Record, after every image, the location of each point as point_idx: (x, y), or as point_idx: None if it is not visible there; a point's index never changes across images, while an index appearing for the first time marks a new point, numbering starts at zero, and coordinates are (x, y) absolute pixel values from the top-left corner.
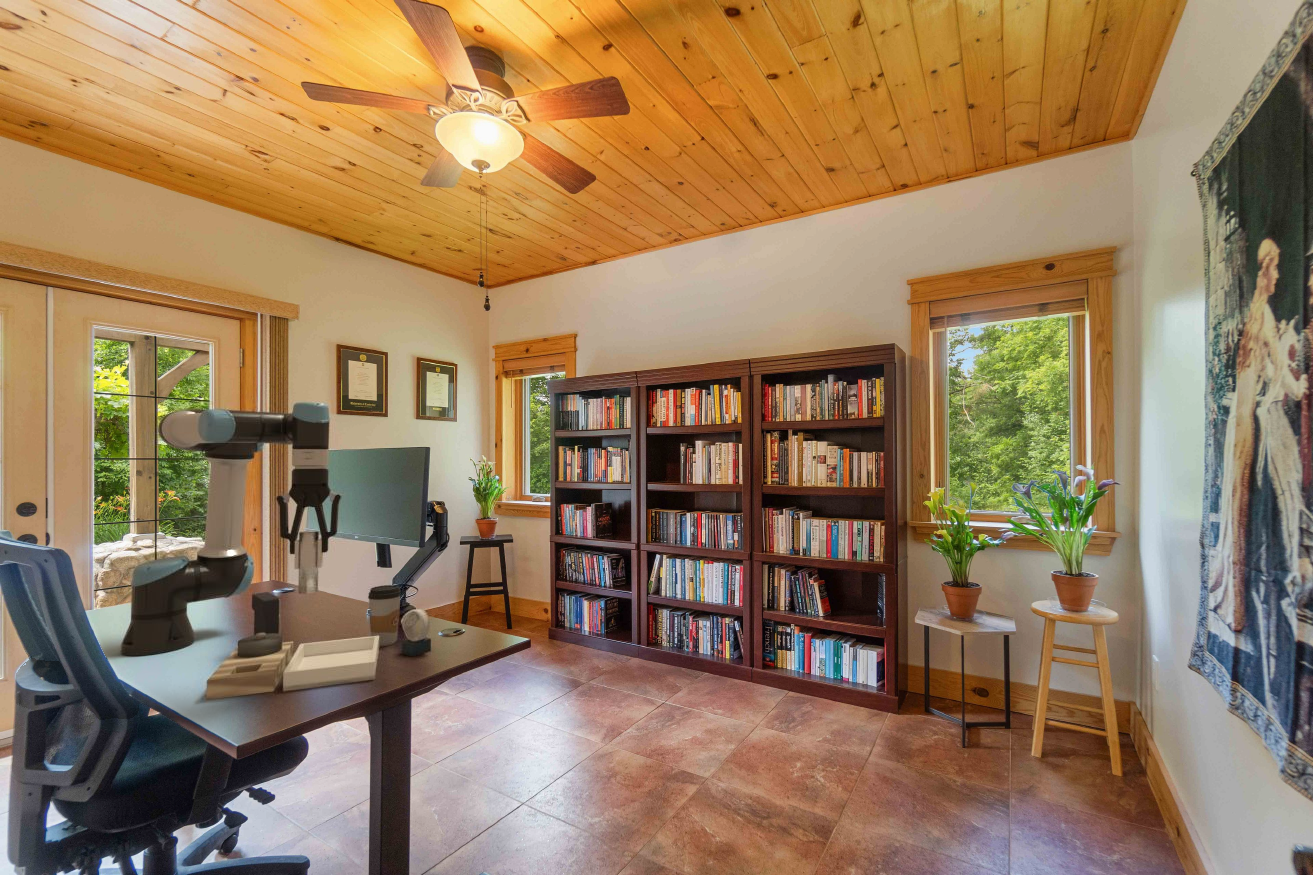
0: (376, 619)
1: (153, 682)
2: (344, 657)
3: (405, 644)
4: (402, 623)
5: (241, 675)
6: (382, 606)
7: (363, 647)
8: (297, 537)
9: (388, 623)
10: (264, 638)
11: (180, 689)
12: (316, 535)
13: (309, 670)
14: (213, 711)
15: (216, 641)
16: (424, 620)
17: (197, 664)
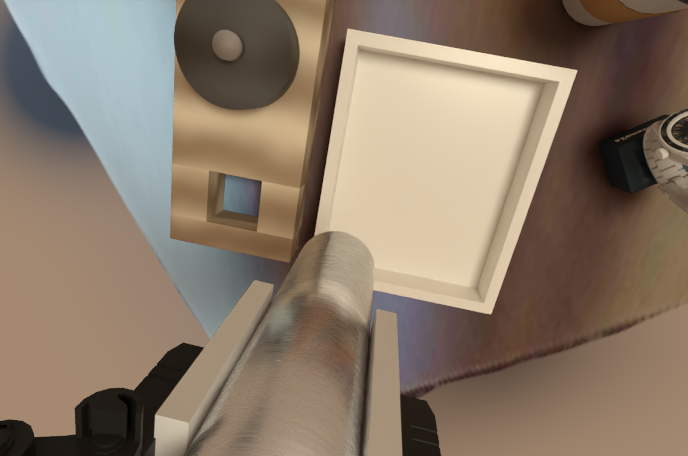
0: (609, 3)
1: (54, 33)
2: (453, 124)
3: (618, 161)
4: (658, 141)
5: (229, 244)
6: (663, 5)
7: (516, 77)
8: (142, 421)
9: (641, 18)
10: (242, 55)
11: (126, 127)
12: None
13: None
14: (213, 291)
15: None
16: None
17: None
